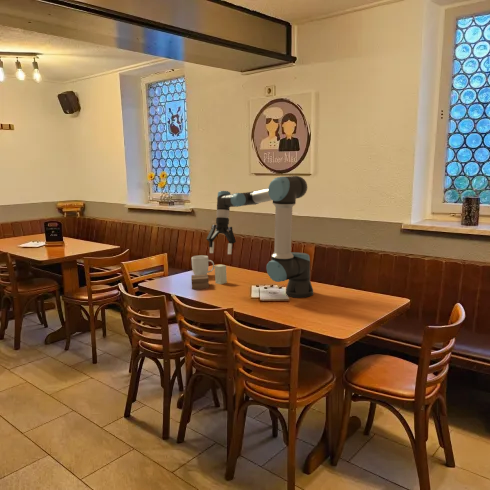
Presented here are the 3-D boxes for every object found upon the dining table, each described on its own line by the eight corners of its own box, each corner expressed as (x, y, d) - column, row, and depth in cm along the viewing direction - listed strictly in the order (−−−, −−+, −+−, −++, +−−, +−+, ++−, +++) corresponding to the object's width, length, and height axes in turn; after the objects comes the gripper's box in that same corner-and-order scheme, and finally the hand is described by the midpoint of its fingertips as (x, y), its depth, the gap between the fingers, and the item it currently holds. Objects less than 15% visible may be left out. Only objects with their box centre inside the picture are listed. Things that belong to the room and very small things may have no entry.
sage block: (226, 282, 268) (226, 265, 267) (220, 284, 265) (219, 266, 263) (221, 281, 272) (220, 264, 270) (215, 283, 269) (214, 265, 267)
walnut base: (208, 288, 258) (208, 278, 257) (192, 289, 257) (191, 279, 256) (208, 283, 268) (207, 274, 267) (191, 284, 267) (191, 275, 266)
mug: (213, 273, 295) (212, 254, 293) (216, 276, 284) (215, 257, 282) (191, 275, 292) (190, 256, 290) (193, 278, 281) (192, 259, 279)
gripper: (234, 220, 265) (232, 254, 264) (201, 215, 248) (199, 252, 248) (242, 219, 260) (240, 254, 259) (209, 214, 243) (207, 252, 242)
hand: (220, 253), depth 253 cm, fingers open, 13 cm apart
